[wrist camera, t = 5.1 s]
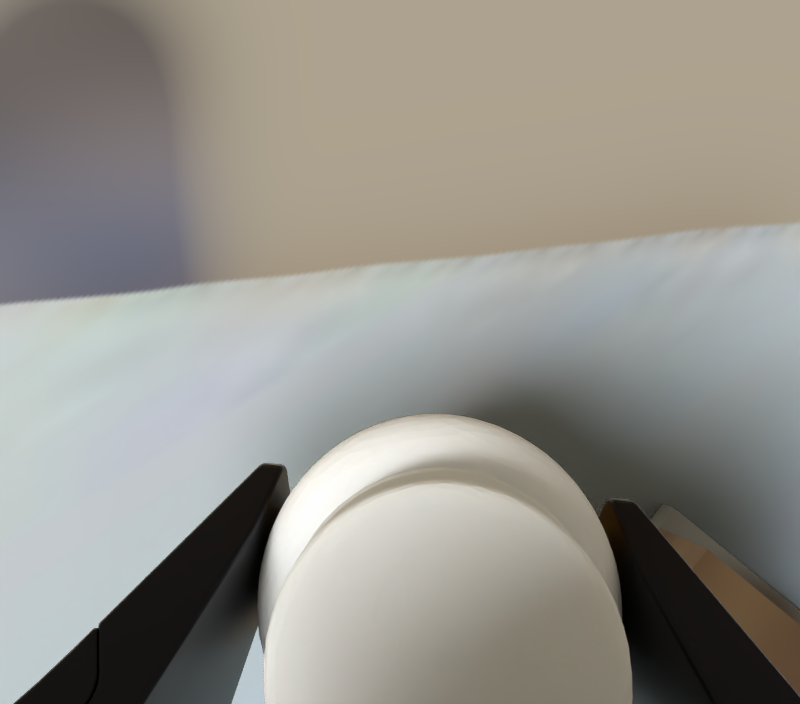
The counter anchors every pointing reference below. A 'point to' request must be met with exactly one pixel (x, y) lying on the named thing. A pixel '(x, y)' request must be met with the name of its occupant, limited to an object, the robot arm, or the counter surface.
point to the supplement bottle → (440, 576)
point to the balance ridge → (739, 592)
